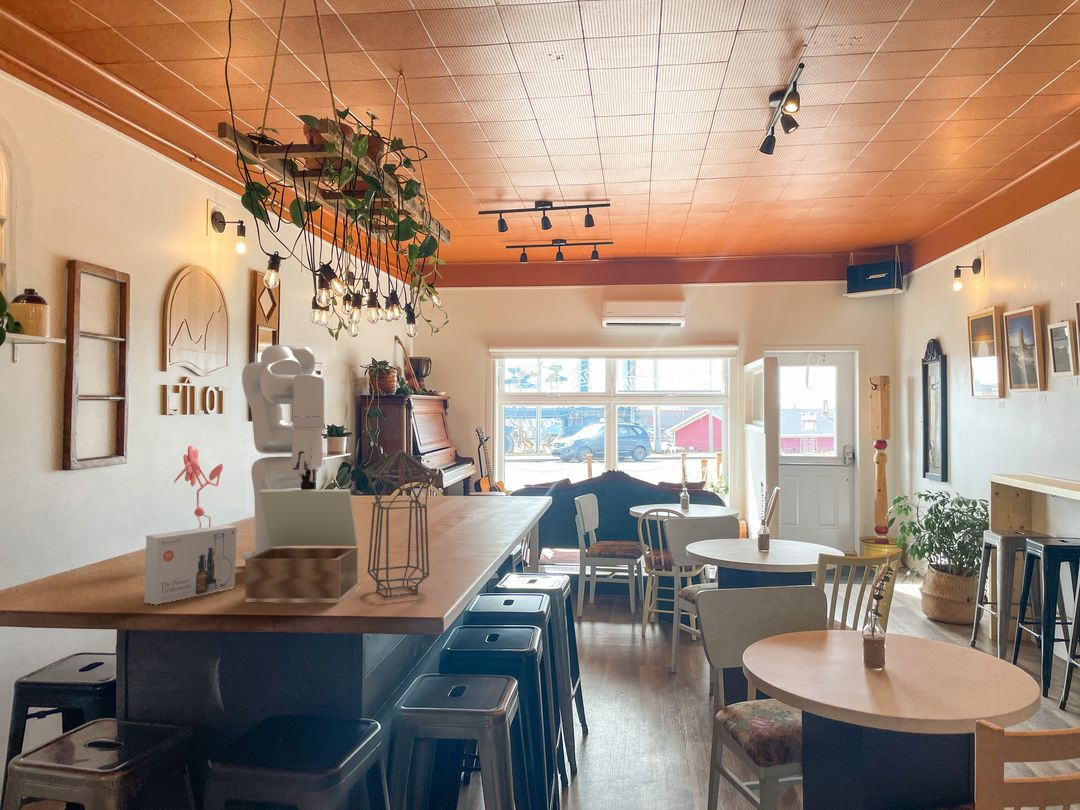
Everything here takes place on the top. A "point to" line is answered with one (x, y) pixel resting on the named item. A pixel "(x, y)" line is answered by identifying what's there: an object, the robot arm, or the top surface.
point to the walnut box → (301, 575)
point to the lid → (309, 517)
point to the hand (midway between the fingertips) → (308, 497)
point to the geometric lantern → (386, 462)
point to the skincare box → (189, 563)
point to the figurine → (195, 471)
